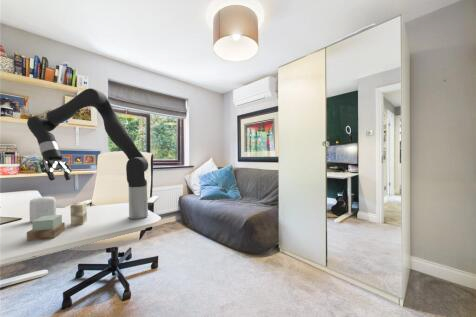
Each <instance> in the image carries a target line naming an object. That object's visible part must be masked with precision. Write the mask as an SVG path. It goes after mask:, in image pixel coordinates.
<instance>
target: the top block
mask: <svg viewBox="0 0 476 317" xmlns="http://www.w3.org/2000/svg"><path fill="white" fill-rule="evenodd" d="M31 223H32V224H31V227H32V229H33V231H38V230H48V229H54V228H56V227H57V226H59V225H60V224H62V223H63V215H62V214H56V215H52V216H42V217H40V218H38V219H36V220H34V221H32V222H31Z"/></svg>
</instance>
